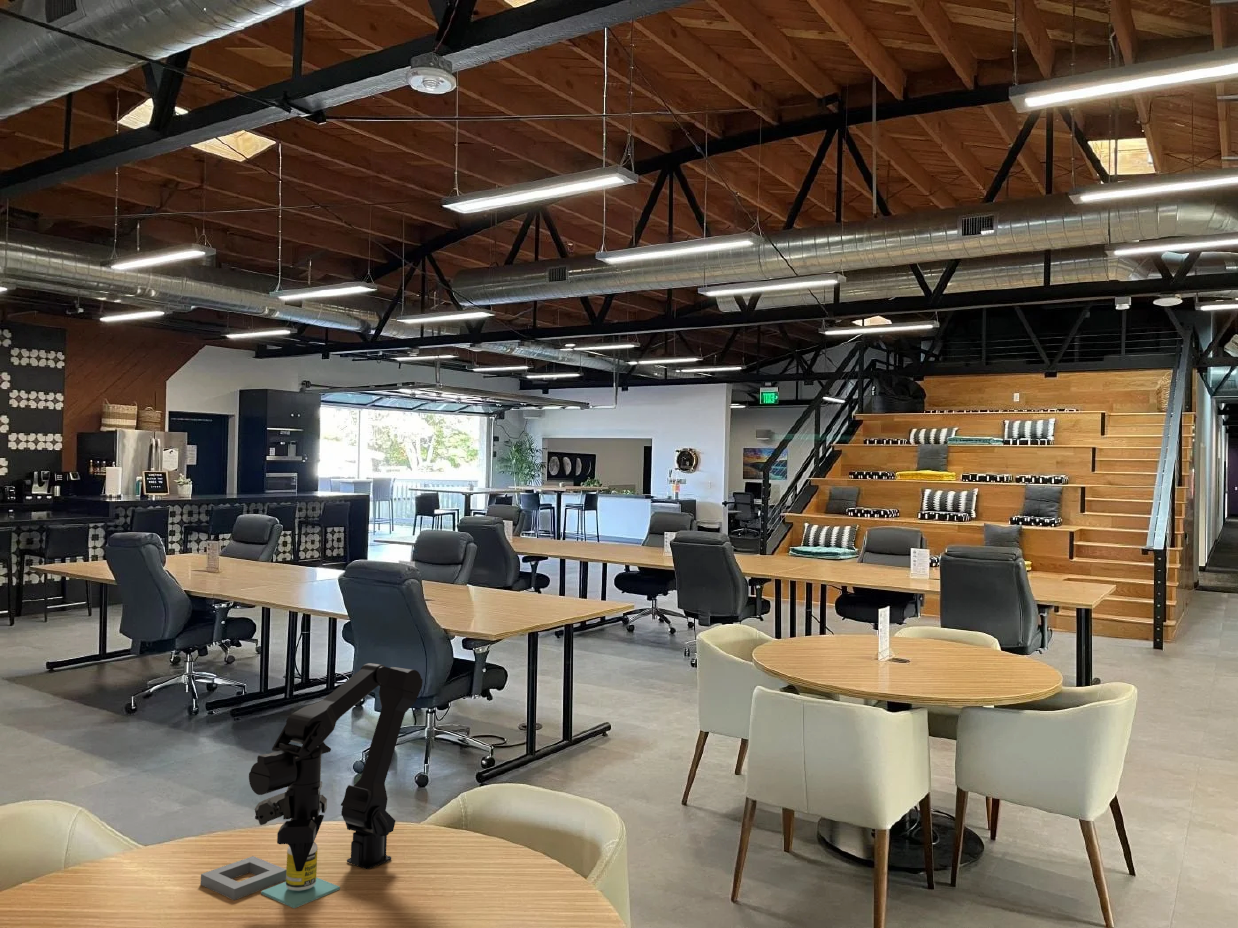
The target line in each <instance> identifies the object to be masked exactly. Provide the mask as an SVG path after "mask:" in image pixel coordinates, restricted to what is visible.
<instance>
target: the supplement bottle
mask: <svg viewBox="0 0 1238 928" xmlns="http://www.w3.org/2000/svg"><path fill="white" fill-rule="evenodd" d="M318 849H319V847H318V844H317V843H316V842H315V841H314V843H313V845H312V848H311V850H310V853H309V855H308V858H307V860H306V863H305V865H304V868H303V870H302V871H296V868H295V864H294V860H293V856H292V852H291V848H290V846H289V845H288V847H287V850H286V851H287V852H286V868H285V869H286V881H285V882H286V887H287V888H288V889H289V890H294V891H301V890H307V889H309V888H311V887H313V886H314V885H315V884H316V877H317V871H318V870H317V867H318Z"/></svg>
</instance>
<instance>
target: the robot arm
mask: <svg viewBox="0 0 1238 928" xmlns="http://www.w3.org/2000/svg"><path fill="white" fill-rule="evenodd" d="M378 687H379V690H378V696H379V701H380V706H381V709H380V712H379V716H378V719H377V722H376V726H375V729H374V733H373V735H372V736H373V737H372V739H371V743H370V746H369V749H368V753H367V756H366V759H365V763H364V766H363V768H362V772H361V776H360V778H359V779H358V780H357V781H356V782H355V784H354V785H350V784H349V785H347V787H346V788H345V793H344V796H343V800H342V801H341V803H340V806H342V807H341V817H342V818H343V821H344V822H345V826H346V829H347V831H353V832H352V841H351V844H350V858H347V859H346V862H347V863H348V864H350V865H353V866H357V867H359V868H362V869H364V870H370V869H373V868H375V867H377V866H380V865H382V864H384V863H388V862H389V861H391V860H392V856H389V855H387V846H388V845H387V844H388V842H387V840H388V836H389V834H390V833H392V832H394V829H395V825H396V819H395V818H394V817H392V815H391V814H390V813H389V812H388V811H387V810H386V809H387V804H388V794H387V790H386V789H387V788H386V785H385V783H386V780H387V776H388V772H389V771H390V770H389V769H390V766H391V763H392V759H393V756H394V752H395V748H396V746H397V742H398V739H399V735H400V731H401V728H402V725H403V721H404V718H405V714H406V713H407V712H408V710H410V709H411V707H412V706H413V705H414V704H415V703H416V702H417V699H418V698H419V694H420V693H421V690H422V687H423V678H422V676H421V674H420V672H419V671H418V670H416V669H410V668H402V667H395V666H391V667H387V666H385V665H384V664H379V663H373V662H372V663H371V662H368V663H365V664H363V665H362V666H361V667H360V670H359V671H357V672H356V673H354V674H353V675H352V676H351V677H350V678H349V679H347V680H346V681H345V682H343V683H342V684H341V685H339V686H338V687H337V688H335V689H334V690H333V691H332V692H330V693H329V694H328V695H326V696H325V698H323V699H322V700H319V701H318V702H315V703H311V704H308V705H305V706H303V707H302V708H300V709H298V710H296V711H295V712H293V713H291V714H290V715H289V716H288V717H287V718H286V720H285V725H284V727H283V729H282V730H281V732H280V734H279V736H278V738H276V741H275V743H274V744H273V746H272V748H271V750H272V752H270V753H263V754H258V756H257V759H256V760H257V761H256V762H255V763H254V764H253V765H252V766H251V768H250V772H249V773H248V782H249V785H250V788H251V790H252V791H253V792H254V793H255V794H256V795H258V796H262V795H265V794H266V795H267V794H269V793H272V792H275V791H276V792H277V791H278V790H282V789H285V788H287V789H286V790H285V791H284V792H282V793H279V794H276V795H274V796H271V797H269V798H266V799H264V800H262V801H259V802H258V803H257V804H256V806H255V807H254V812H255V815H254V819H255V820H256V821H258V823H259V826H262V825H266V824H267V823H268V822H271V821H273V820H276V819H278V818H282V817H283V820H286V821H284V823H283V824H282V825H281V826H280V828H279V829H278V831H277V834H276V835H277V838H276V843H277V845H287V846H288V847H289V846H290V848H291V852H292V856H293V860H294V864H295V868H296V871H302V870H303V868H304V865H305V863H306V860H307V858H308V855H309V853H310V850H311V848H312V845H313V843H314V842H315V840H316V838H317V835H318V833H319V829H320V828H321V825H322V823H323V820H324V818H325V815H323V814H326V811H327V808H328V807H327V806H328V799H327V797H325V796H324V794H321V790H322V787H323V781H322V780H321V779H322V777H321V776H322V775H321V774H322V773H321V772H322V755H324V754H327V753H330V752H331V751H332V748H331V747H329V746H328V745H327V744H326V743H325V740H326V739H327V738H328V737H330V735H331V734H332V732H333V731H334V730H335V728H336V727H335V726H336V725H337V722H338V721H339V719H340V718H341V717H342V716H344V714H346V713H347V712H348V711H350V710H351V709H352V708H353V707H355V706H356V705H357V704H359V702H361V701H362V700H363V699H364V698H366V697H367V696H368V695H369V694H371V693H372V691H374V690H375V689H377V688H378ZM292 743H296V744H300V745H295V744H292ZM320 812H321V813H322V814H320Z"/></svg>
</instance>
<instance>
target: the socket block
mask: <svg viewBox="0 0 1238 928" xmlns="http://www.w3.org/2000/svg"><path fill="white" fill-rule="evenodd" d="M246 874H251V875H254V876H251V877H248V878H246V879H243V880H240V881H237V880H235V878H238V877H241V876H244V875H246ZM284 882H286V868H285V867H281V866H279V865H276V864H274V863H271V862H268V860H267V861H266V860H264V859H262V858H259V857H256V856H254V855H252V856H249V857H247V858H244V859H243V858H242V859H241V860H238V861H235V862H232V863H229V864H226V865H224V866H219V867H217V868H213V869H211V870H209V871H206V872H203V873H201V874H200V886H202V887H205V888H206V889H209V890H211V891H213V892H215V893H217V894H220V895H222V896H224V897H227V898H228V899H231V900H232V901H236V900H238V899H241V898H244V897H247V896H249V895H251V894H254V893H256V892H261V891H263V890H265V889H268V888H271V887H273V886H276V885H278V884H281V883H284Z"/></svg>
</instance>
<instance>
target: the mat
mask: <svg viewBox="0 0 1238 928" xmlns="http://www.w3.org/2000/svg"><path fill="white" fill-rule="evenodd" d="M340 889H341V886H339V885H336V884H334V883H332V882H329V881H327V880H324V879H322V878H319V877H318V876H316V884H315V885H314V886H313V887H311V888H309V889H307V890H301V891H294V890H289V889H288V888H287V887H286V881H283V882H280V883H278V884H275V885H273V886H270V887H267V888H265V889H262V890H260V894H261V895H263V896H265V897H267V898H270V899H271V900H274V901H276V902H279V903H281V904H283V905H285V906H287V907H290V908H291V909H296V908H298V907H301V906H303V905H306V904H309V903H311V902H313V901H315V900H318V899H320V898H322V897H325V896H328V895H330V894H332V893H334V892H337V891H339V890H340Z"/></svg>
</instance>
